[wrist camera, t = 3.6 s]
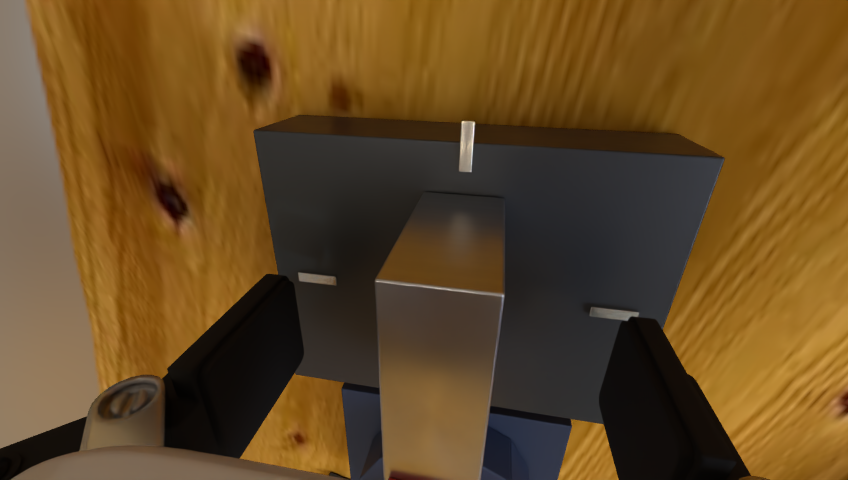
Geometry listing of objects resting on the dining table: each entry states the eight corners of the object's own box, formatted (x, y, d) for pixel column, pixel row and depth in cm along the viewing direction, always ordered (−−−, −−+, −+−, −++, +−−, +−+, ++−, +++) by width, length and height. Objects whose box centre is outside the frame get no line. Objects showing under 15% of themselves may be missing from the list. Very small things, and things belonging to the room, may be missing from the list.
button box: (565, 389, 18) (580, 473, 14) (539, 495, 21) (546, 583, 18) (355, 357, 19) (322, 426, 16) (363, 461, 23) (338, 536, 19)
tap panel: (685, 114, 12) (738, 134, 9) (605, 379, 17) (624, 443, 14) (296, 97, 14) (245, 110, 11) (325, 338, 19) (295, 388, 16)
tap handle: (423, 190, 12) (369, 286, 7) (505, 197, 11) (505, 302, 7) (420, 367, 15) (381, 513, 10) (484, 377, 14) (474, 533, 10)
